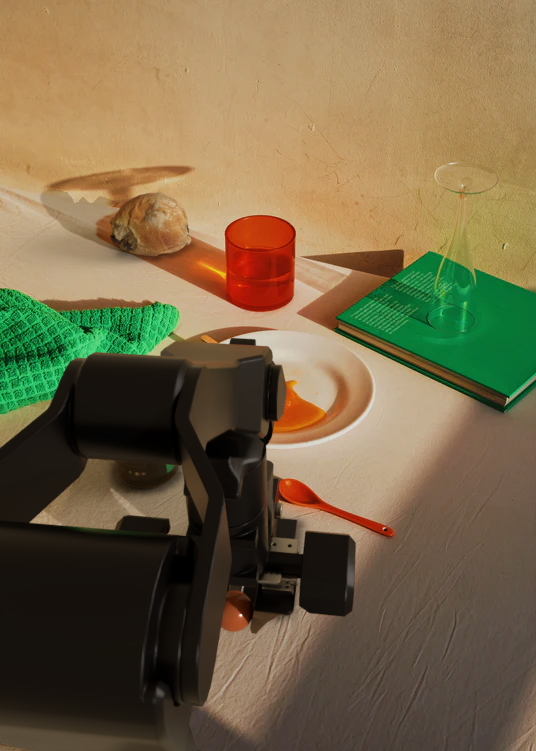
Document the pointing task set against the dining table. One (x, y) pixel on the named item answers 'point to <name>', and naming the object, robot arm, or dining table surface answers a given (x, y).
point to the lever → (236, 609)
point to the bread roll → (150, 225)
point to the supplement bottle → (145, 473)
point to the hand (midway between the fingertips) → (235, 626)
